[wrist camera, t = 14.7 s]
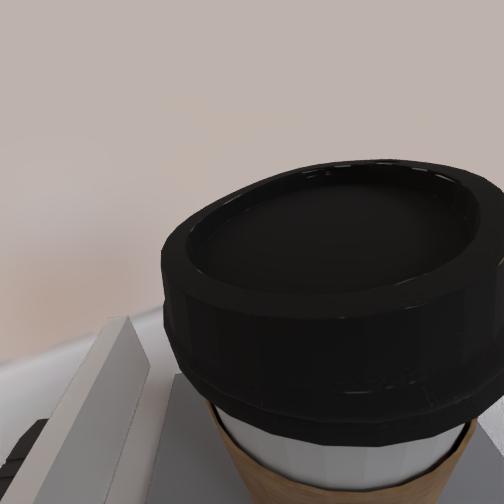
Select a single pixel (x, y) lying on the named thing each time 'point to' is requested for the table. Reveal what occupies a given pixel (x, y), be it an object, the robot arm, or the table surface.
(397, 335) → the coffee cup
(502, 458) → the mat
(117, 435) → the robot arm
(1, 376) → the table surface
